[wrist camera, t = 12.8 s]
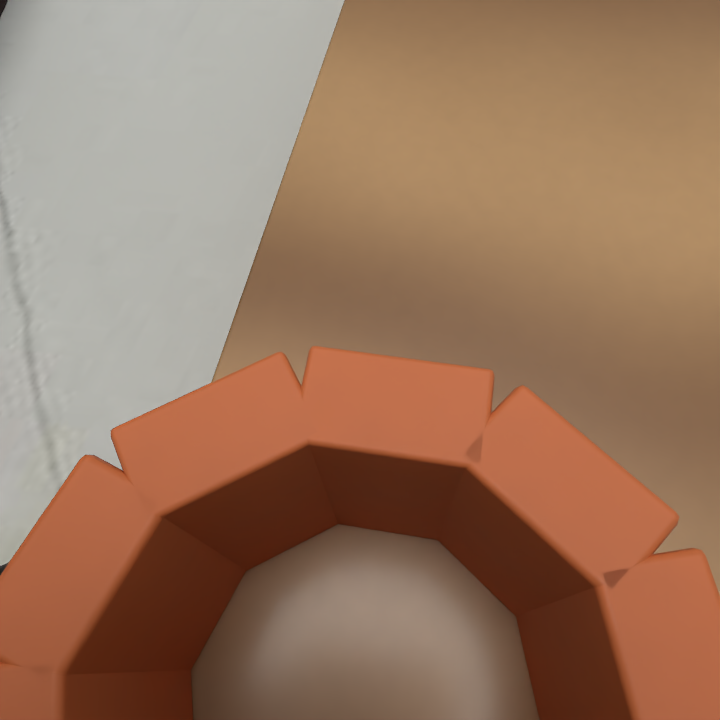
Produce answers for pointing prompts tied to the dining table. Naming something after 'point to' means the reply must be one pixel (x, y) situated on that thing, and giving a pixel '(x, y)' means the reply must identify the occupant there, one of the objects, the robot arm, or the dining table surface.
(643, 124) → the wooden board
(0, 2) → the book
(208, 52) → the dining table surface
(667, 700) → the ring
